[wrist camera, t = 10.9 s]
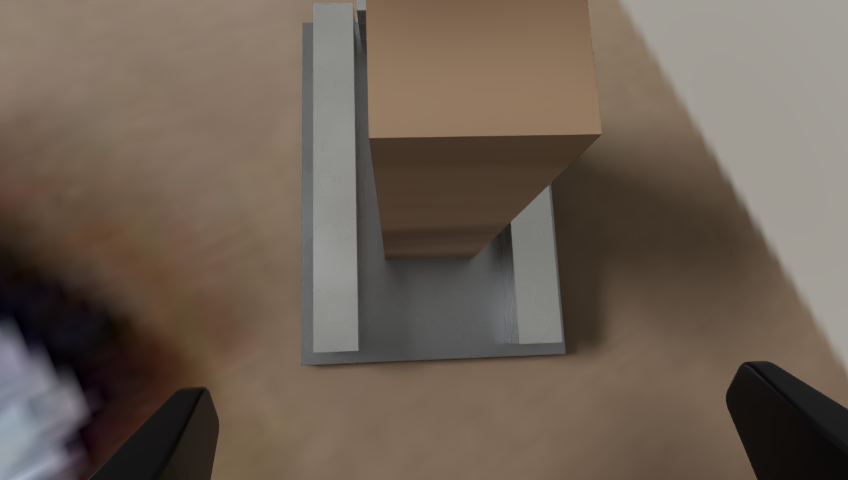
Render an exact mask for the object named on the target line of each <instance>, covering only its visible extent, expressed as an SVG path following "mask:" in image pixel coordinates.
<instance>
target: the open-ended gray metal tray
mask: <svg viewBox="0 0 848 480" xmlns="http://www.w3.org/2000/svg"><path fill="white" fill-rule="evenodd" d="M357 15H358V23H355V16H354V8H353V3H313V23H303V79H302V351H301V365H319V364H343V363H366V362H389V361H412V360H435V359H458V358H481V357H504V356H527V355H550V354H566V350H565V339H564V327H563V316H562V304H561V293H560V281H559V270H558V258H557V247H556V235H555V224H554V212H553V201H552V189H551V184H550V185H549V186H547V187H546V188H545V189H544V190H543V191H542V192H541V193H540V194H539V195H538V196H537V197H536V198H535V199H534V200H533V201H532V202H531V203H530V204H529V205H528V206H527V207H526V208H525V209H524V210H523V211H522V212H520V213H519V214H518V215H517V216H516V217H515V218H514V219H513V220H512V221H511V222H510V223H509V224H508V225H507V226H506V227H505V228H504V229H503V230H502V231H501V232H500V233H499V234H498V235H497V236H496V237H495V238H494V239H492V240H491V241H490V242H489V243H488V244H487V245H486V246H485V247H484V248H483V249H482V250H481V251H480V252H479V253H478V254H477V255H476V256H475V257H449V258H417V259H386V260H385V254H384V246H383V239H382V232H381V224H380V217H379V209H378V202H377V195H376V187H375V180H374V173H373V165H372V158H371V150H370V143H369V123H368V77H367V31H366V0H357Z"/></svg>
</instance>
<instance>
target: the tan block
mask: <svg viewBox="0 0 848 480" xmlns="http://www.w3.org/2000/svg"><path fill="white" fill-rule="evenodd" d="M366 31H367V77H368V123H369V143H370V150H371V158H372V165H373V173H374V180H375V187H376V195H377V202H378V209H379V217H380V224H381V232H382V239H383V246H384V254H385V260H386V259H417V258H449V257H475V256H476V255H477V254H478V253H479V252H480V251H481V250H482V249H483V248H484V247H485V246H486V245H487V244H488V243H489V242H490V241H491V240H492V239H494V238H495V237H496V236H497V235H498V234H499V233H500V232H501V231H502V230H503V229H504V228H505V227H506V226H507V225H508V224H509V223H510V222H511V221H512V220H513V219H514V218H515V217H516V216H517V215H518V214H519V213H520V212H522V211H523V210H524V209H525V208H526V207H527V206H528V205H529V204H530V203H531V202H532V201H533V200H534V199H535V198H536V197H537V196H538V195H539V194H540V193H541V192H542V191H543V190H544V189H545V188H546V187H547V186H549V185H550V184H551V183H552V182H553V181H554V180H555V179H556V178H557V177H558V176H559V175H560V174H561V173H562V172H563V171H564V170H565V169H566V168H567V167H568V166H569V165H570V164H571V163H572V162H573V161H574V160H575V159H577V158H578V157H579V156H580V155H581V154H582V153H583V152H584V151H585V150H586V149H587V148H588V147H589V146H590V145H591V144H592V143H593V142H594V141H595V140H596V139H597V138H598V137H599V136H600V135H601V134H602V131H601V122H600V112H599V103H598V94H597V85H596V76H595V66H594V57H593V48H592V39H591V29H590V20H589V11H588V2H587V0H366Z"/></svg>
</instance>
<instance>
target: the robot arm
mask: <svg viewBox="0 0 848 480" xmlns="http://www.w3.org/2000/svg"><path fill="white" fill-rule="evenodd" d="M726 403H727V407H728V410H729V412H730V415H731V417H732V420H733V422H734V424H735V427H736V429H737V432H738V434H739V436H740V439H741V441H742V444H743V446H744V449H745V451H746V453H747V456H748V458H749V461H750V463H751V465H752V468H753V470H754V473H755V475H756V477H757V480H848V409H847V408H845V407H843V406H842V405H840V404H838V403H837V402H835V401H834V400H832V399H830V398H829V397H827V396H825V395H824V394H822V393H821V392H819V391H817V390H816V389H814V388H812V387H811V386H809V385H808V384H806V383H804V382H803V381H801V380H799V379H798V378H796V377H795V376H793V375H791V374H790V373H788V372H786V371H785V370H783V369H782V368H780V367H778V366H777V365H775V364H773V363H771V362H768V361H752V362H745V363H743V364H742V365H741V366H740V367H739V369H738V371H737V373H736V375H735V377H734V379H733V381H732V382H731V384H730V386H729V388H728V390H727V393H726ZM218 433H219V419H218V416H217V413H216V410H215V407H214V404H213V401H212V398H211V395H210V392H209V390H208V389H207V388H206V387H185V388H181V389H179V390H178V391H176V392H175V393H174V394H173V395H172V396H171V397H170V398H169V399H168V400H167V401H166V402H165V403H164V404H163V405H162V406H161V407H160V408H159V409H158V410H157V411H156V412H155V413H154V414H153V415H152V416H151V417H150V418H149V419H148V420H147V421H146V422H145V423H144V424H143V425H142V426H141V427H140V428H139V429H138V430H137V431H136V432H135V433H134V434H133V435H132V436H131V437H130V438H129V439H128V440H127V441H126V442H125V443H124V444H123V445H122V446H121V447H120V448H119V449H118V450H117V451H116V452H115V453H114V454H113V455H112V456H111V457H110V458H109V459H108V460H107V461H106V462H105V463H104V464H103V465H102V466H101V467H100V468H99V469H98V470H97V471H96V472H95V473H94V474H93V475H92V476H91V477H90V478H89V479H88V480H210V479H211V474H212V468H213V462H214V456H215V451H216V445H217V439H218Z"/></svg>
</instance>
